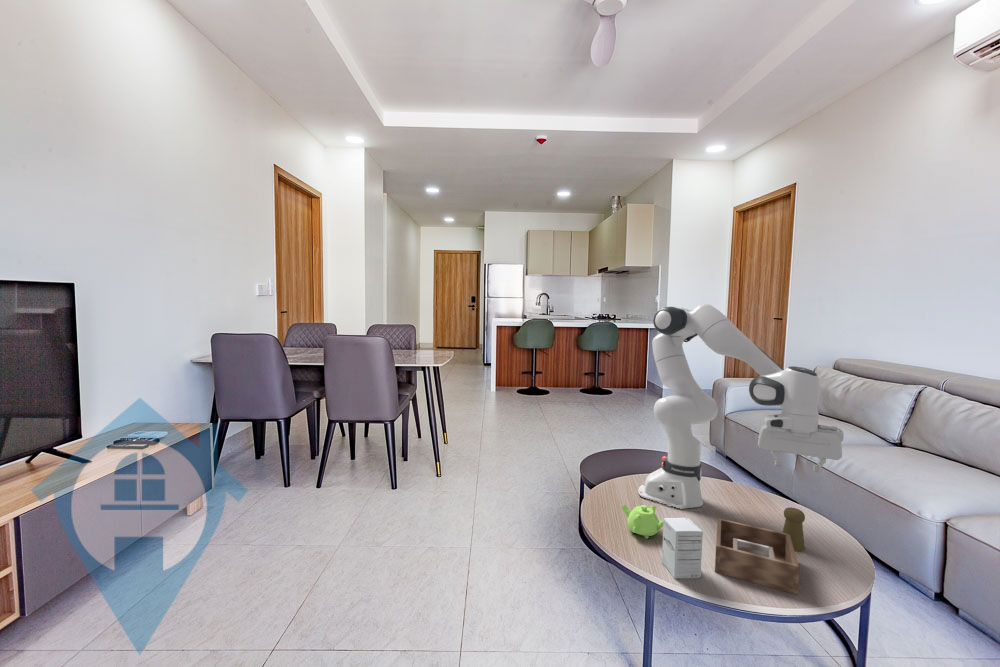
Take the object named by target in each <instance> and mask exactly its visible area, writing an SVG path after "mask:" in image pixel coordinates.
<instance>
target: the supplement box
mask: <svg viewBox="0 0 1000 667" xmlns="http://www.w3.org/2000/svg"><path fill="white" fill-rule="evenodd" d="M663 519H664V524H663V527H662V528H663V529H662V545H661V546H662V547H661V563H662V564H663V566H664V567H665V568H666V569H667V570H668V572H669V573H670V574H671V576H672V577H673V578H674V579H700V578H701V576H702V575H701V574H702V571H701V570H702V558H703V556H702V554H703V553H702V552H703V537H704V536H703V535H704V532H703V530H702V529H701V528H700V527H699V526H698V525H696V523H694V522H693V521H692V520H691V519H690V518H689V517H664V518H663Z"/></svg>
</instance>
